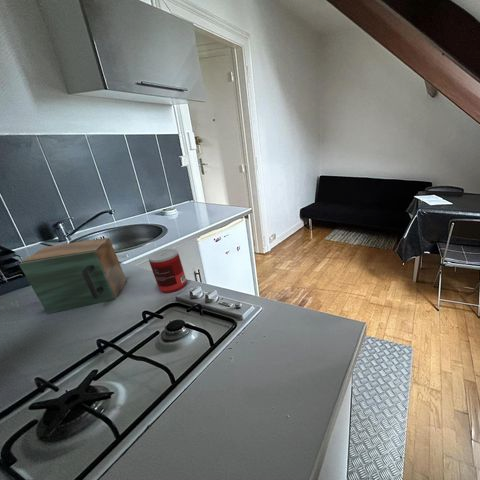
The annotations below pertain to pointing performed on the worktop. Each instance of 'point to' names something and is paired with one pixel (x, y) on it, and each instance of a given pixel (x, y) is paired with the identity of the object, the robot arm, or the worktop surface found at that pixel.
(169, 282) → the canned food
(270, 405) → the worktop surface
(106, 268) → the cupboard
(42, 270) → the cupboard door
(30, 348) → the worktop surface
